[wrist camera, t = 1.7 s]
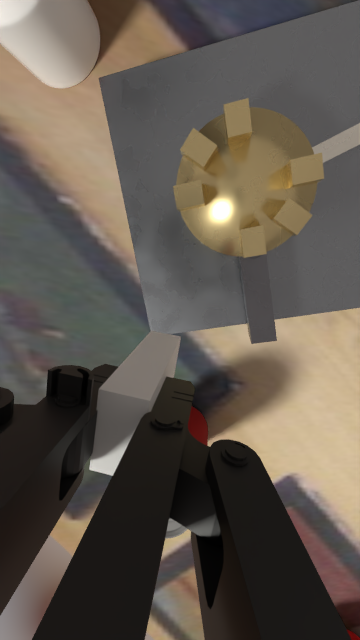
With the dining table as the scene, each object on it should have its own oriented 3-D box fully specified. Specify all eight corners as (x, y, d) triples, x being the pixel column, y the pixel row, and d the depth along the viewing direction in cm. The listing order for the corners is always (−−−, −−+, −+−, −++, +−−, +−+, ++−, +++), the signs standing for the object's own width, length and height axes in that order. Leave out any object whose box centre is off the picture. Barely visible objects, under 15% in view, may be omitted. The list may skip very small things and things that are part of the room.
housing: (115, 101, 28) (98, 76, 24) (353, 34, 25) (378, -8, 21) (160, 326, 33) (151, 337, 29) (366, 296, 29) (390, 303, 25)
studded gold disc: (171, 141, 25) (161, 120, 20) (299, 110, 23) (316, 79, 19) (204, 340, 28) (202, 356, 24) (318, 325, 26) (336, 339, 22)
